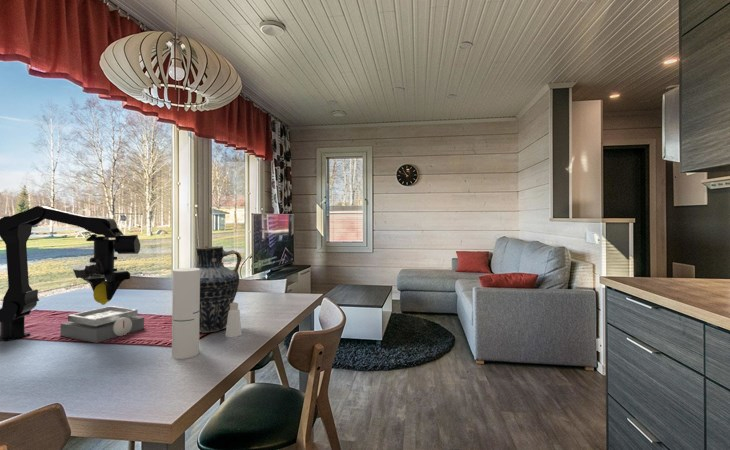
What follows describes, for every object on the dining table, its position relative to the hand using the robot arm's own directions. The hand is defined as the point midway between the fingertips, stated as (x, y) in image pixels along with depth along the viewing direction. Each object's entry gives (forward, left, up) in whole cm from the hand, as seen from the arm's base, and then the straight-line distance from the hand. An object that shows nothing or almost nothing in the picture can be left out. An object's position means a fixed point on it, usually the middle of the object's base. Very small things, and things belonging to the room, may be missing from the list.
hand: (103, 299), depth 120 cm
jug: (+31, +17, -12) cm, 37 cm away
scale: (0, 0, -12) cm, 12 cm away
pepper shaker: (+43, +15, -12) cm, 47 cm away
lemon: (0, 0, -2) cm, 2 cm away
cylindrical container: (+42, -4, -12) cm, 44 cm away
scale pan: (0, 0, -7) cm, 7 cm away
